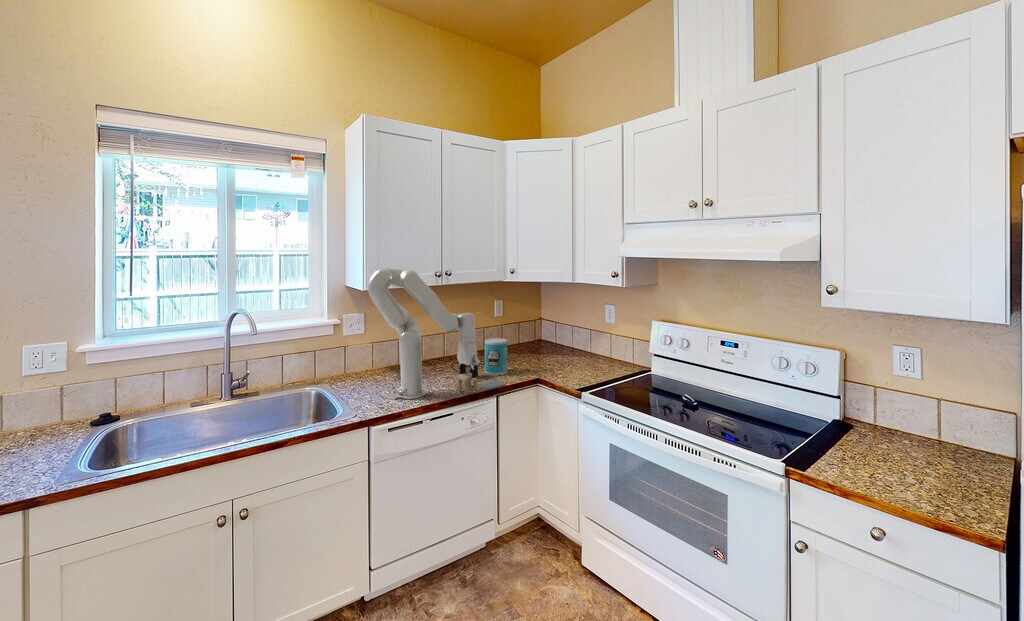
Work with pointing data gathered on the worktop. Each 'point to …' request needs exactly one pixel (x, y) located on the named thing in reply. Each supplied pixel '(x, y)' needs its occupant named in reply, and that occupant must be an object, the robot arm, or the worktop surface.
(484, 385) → the mat
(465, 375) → the wooden u-shaped block
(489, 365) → the food can
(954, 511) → the worktop surface
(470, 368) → the coffee mug
